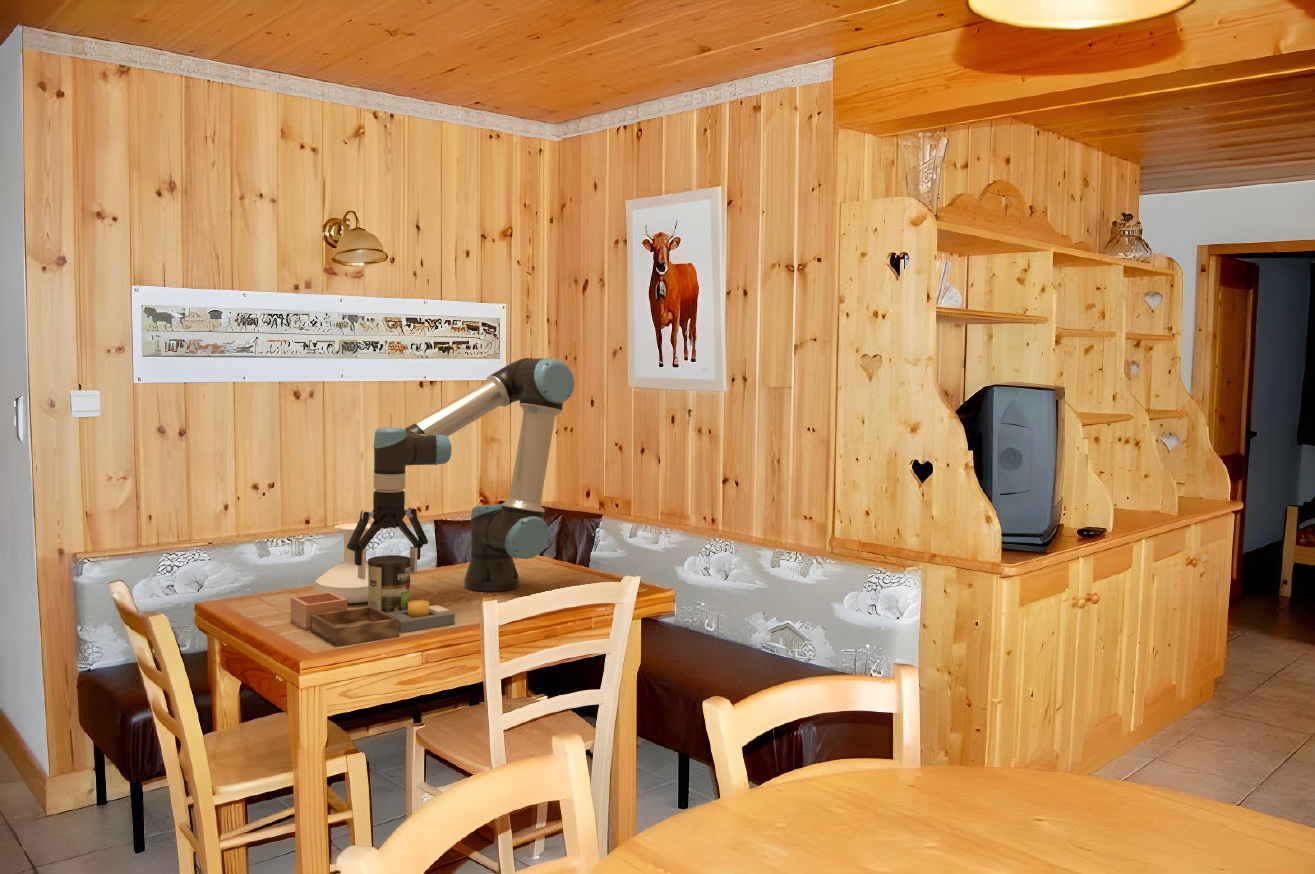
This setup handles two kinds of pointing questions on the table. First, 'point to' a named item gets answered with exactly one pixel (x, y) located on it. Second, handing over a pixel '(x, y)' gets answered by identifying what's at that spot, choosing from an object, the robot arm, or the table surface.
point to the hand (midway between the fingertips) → (387, 575)
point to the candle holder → (346, 572)
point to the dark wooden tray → (354, 626)
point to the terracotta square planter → (314, 607)
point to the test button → (418, 608)
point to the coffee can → (389, 583)
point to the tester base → (424, 619)
